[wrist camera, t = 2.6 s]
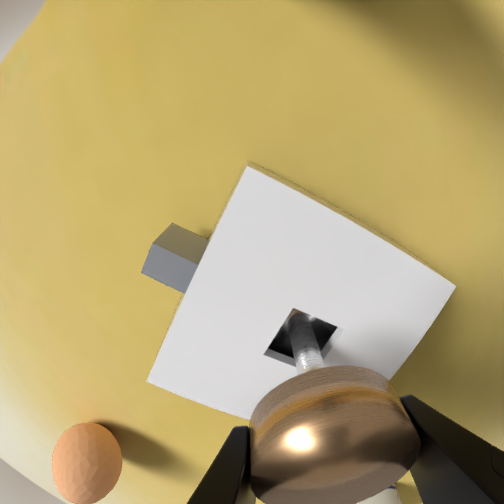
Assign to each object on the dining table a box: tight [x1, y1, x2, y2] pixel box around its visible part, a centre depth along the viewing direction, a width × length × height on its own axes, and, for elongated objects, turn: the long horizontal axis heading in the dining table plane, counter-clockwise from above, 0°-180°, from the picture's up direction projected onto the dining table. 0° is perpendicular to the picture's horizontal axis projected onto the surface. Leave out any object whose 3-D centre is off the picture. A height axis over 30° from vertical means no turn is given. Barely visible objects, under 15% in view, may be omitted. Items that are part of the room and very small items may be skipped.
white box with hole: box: [141, 160, 456, 420], centre depth 15 cm, size 12×10×7 cm
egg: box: [52, 422, 122, 504], centre depth 19 cm, size 6×6×8 cm
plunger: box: [249, 308, 421, 504], centre depth 10 cm, size 5×5×8 cm
